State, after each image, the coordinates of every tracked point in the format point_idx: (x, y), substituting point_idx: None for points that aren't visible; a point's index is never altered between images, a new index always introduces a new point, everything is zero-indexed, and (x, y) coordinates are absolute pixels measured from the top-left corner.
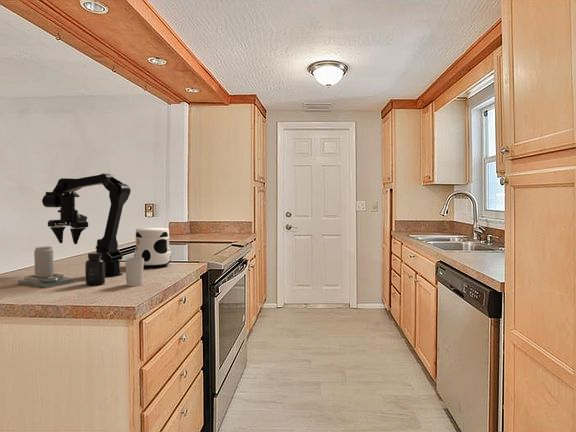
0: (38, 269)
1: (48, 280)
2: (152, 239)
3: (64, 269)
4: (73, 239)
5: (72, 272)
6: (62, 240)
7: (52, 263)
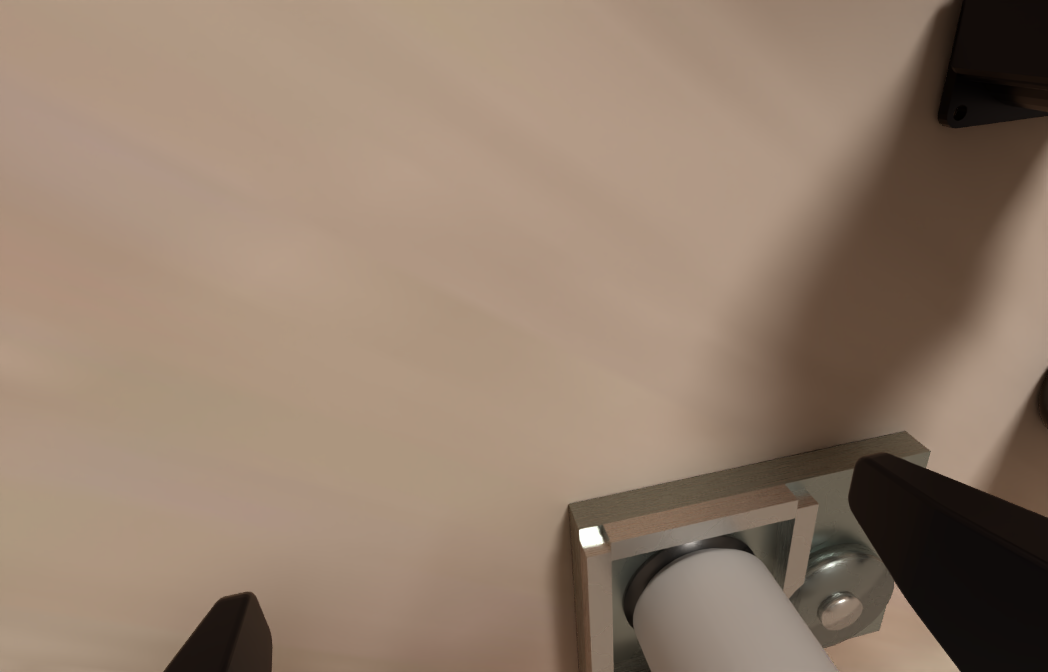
0: None
1: (863, 621)
2: None
3: (9, 76)
4: (975, 644)
5: (426, 171)
6: (238, 656)
7: (834, 665)
